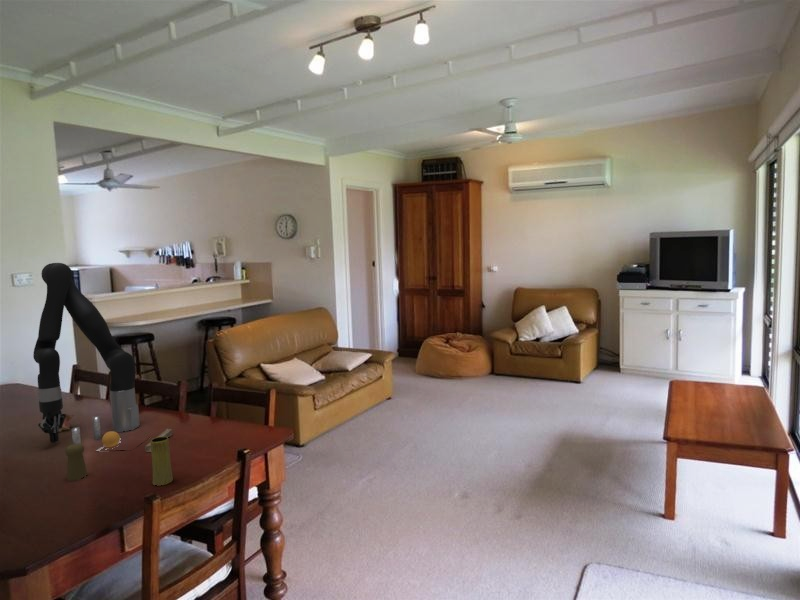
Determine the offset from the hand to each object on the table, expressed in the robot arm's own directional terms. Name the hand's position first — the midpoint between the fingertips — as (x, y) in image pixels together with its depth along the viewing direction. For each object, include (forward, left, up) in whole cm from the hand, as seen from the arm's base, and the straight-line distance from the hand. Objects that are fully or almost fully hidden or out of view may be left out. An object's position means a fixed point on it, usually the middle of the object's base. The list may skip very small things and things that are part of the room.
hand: (54, 441), depth 204 cm
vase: (-58, +34, -2) cm, 67 cm away
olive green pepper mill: (-27, +29, -2) cm, 40 cm away
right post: (-13, -6, -2) cm, 15 cm away
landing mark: (-27, 0, -2) cm, 27 cm away
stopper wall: (-41, 0, -2) cm, 41 cm away
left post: (-13, +7, -2) cm, 15 cm away
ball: (-24, +2, +2) cm, 24 cm away
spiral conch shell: (+10, -18, -2) cm, 21 cm away
